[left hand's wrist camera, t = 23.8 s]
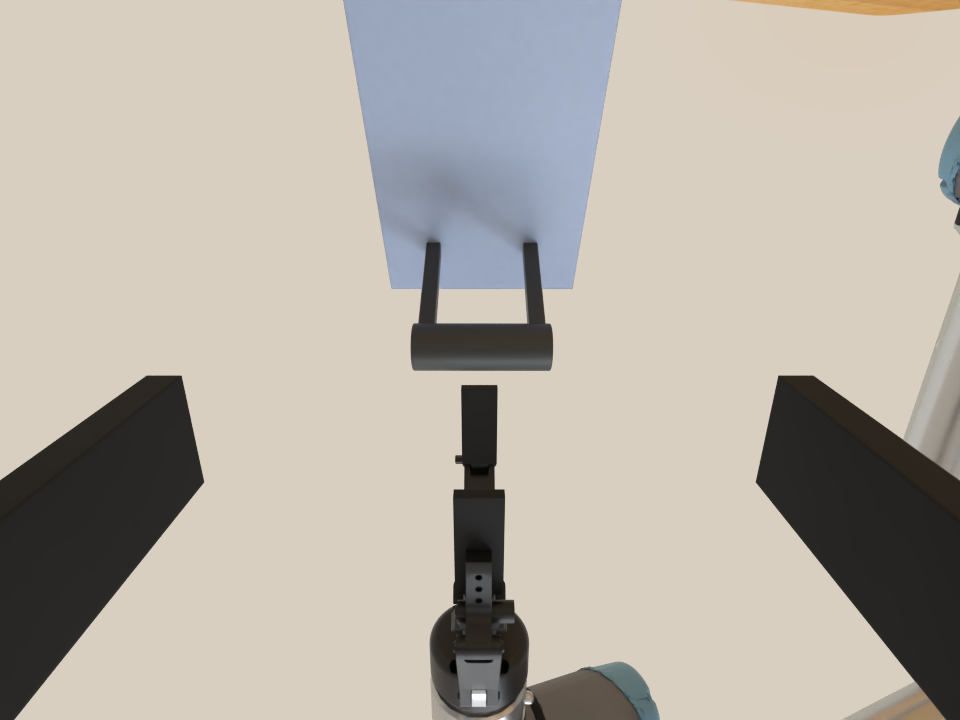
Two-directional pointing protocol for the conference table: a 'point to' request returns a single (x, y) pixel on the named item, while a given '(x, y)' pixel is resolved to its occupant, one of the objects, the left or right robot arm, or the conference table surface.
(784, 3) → the conference table surface
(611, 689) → the right robot arm
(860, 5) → the conference table surface
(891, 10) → the conference table surface
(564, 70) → the lid
